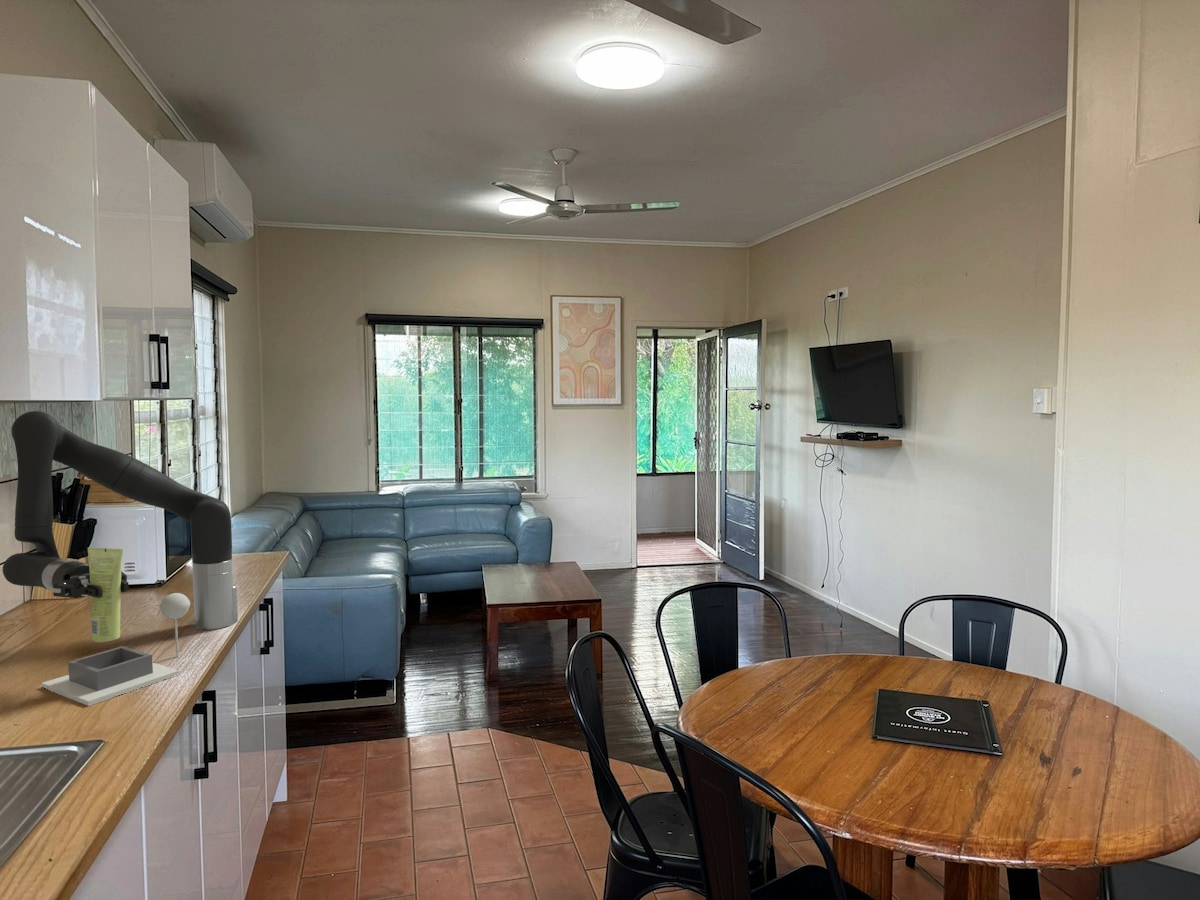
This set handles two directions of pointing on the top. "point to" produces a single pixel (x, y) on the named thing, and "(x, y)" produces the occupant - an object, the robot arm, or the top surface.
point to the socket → (108, 675)
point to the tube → (105, 592)
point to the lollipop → (175, 609)
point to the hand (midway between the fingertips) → (113, 589)
